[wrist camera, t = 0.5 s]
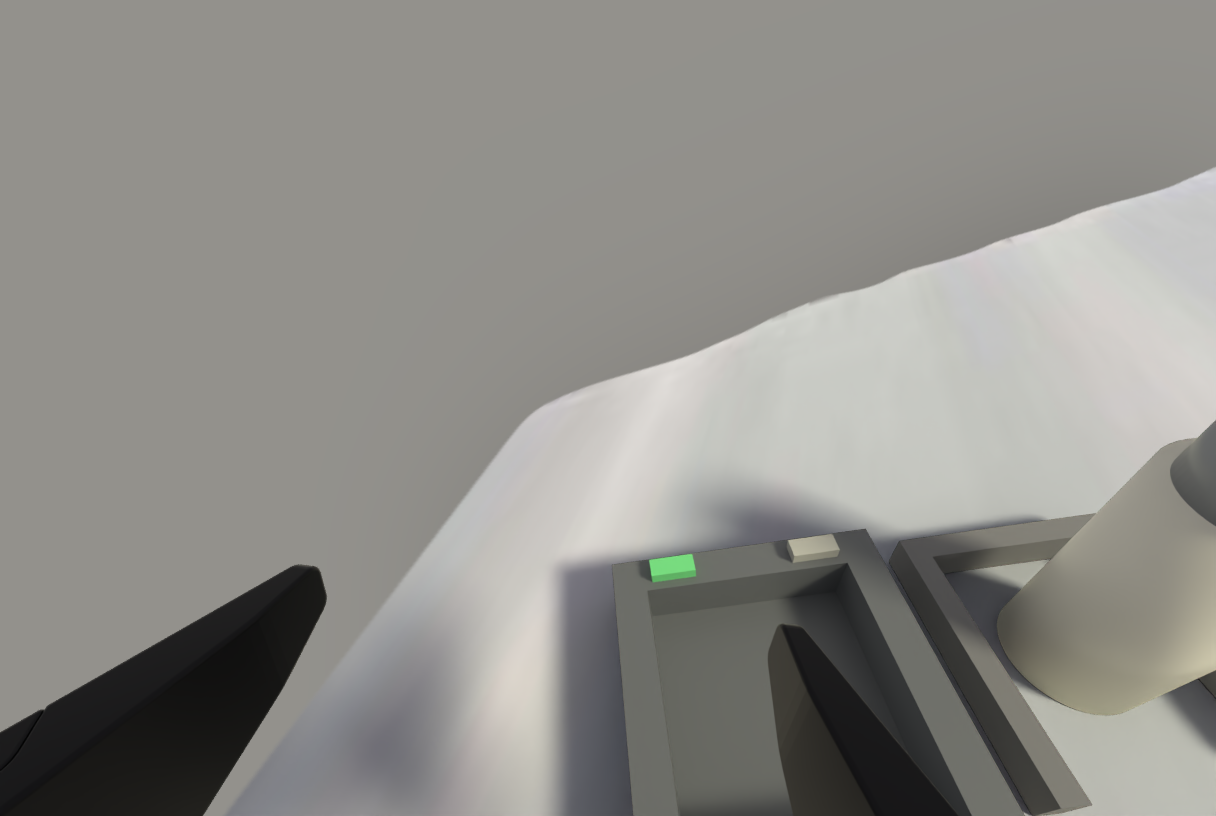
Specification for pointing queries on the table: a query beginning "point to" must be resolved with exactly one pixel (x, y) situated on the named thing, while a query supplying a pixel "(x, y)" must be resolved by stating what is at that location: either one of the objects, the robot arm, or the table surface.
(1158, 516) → the plug
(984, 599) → the table surface
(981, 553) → the grey u-shaped rail
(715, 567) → the dock
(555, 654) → the table surface
